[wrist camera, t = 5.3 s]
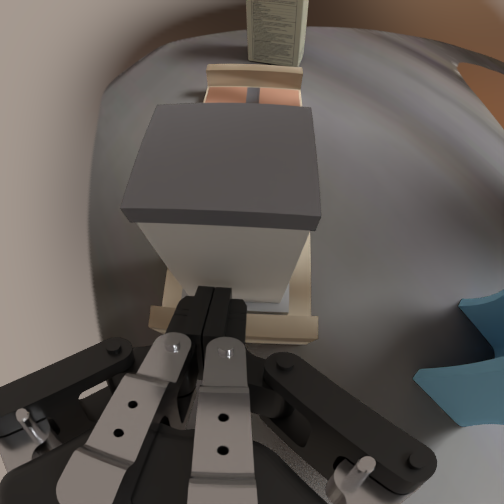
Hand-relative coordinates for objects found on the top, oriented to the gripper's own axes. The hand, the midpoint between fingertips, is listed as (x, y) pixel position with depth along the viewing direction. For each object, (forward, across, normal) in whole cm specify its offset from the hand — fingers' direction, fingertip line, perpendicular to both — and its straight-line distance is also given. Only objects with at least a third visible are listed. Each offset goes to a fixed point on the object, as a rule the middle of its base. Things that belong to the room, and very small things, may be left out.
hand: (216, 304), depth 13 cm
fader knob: (+5, +1, -1) cm, 5 cm away
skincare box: (+26, +3, +18) cm, 32 cm away
